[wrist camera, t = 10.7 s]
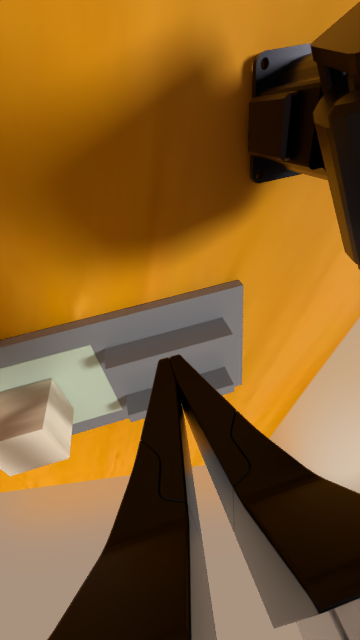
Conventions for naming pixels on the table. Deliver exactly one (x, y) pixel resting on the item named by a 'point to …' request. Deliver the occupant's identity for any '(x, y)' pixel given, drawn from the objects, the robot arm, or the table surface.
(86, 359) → the twin rail plate
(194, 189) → the table surface
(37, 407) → the block
